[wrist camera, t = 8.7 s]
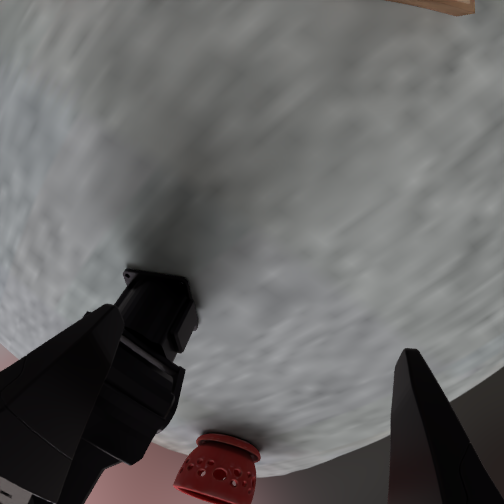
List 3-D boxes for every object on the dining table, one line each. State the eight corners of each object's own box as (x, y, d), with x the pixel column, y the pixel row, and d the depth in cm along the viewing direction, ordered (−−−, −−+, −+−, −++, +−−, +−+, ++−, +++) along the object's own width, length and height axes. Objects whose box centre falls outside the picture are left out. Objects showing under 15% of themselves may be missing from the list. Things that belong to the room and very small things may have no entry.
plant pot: (209, 420, 45) (186, 487, 36) (279, 448, 47) (264, 511, 38) (183, 435, 53) (163, 488, 44) (243, 459, 55) (228, 510, 45)
